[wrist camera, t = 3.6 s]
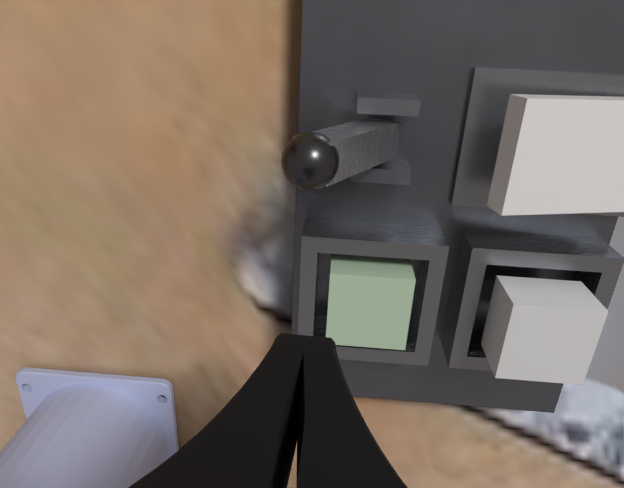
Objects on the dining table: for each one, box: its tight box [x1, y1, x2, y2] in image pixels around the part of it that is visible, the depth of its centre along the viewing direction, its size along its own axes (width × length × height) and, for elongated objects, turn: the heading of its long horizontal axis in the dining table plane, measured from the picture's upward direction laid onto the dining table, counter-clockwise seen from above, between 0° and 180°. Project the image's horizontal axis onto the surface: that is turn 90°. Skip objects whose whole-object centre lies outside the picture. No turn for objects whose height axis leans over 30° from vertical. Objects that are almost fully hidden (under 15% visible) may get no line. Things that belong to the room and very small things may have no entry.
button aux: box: [481, 275, 608, 385], centre depth 17 cm, size 3×3×2 cm
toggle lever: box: [281, 117, 401, 190], centre depth 15 cm, size 2×2×5 cm
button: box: [326, 254, 416, 350], centre depth 18 cm, size 3×3×2 cm
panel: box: [292, 0, 624, 413], centre depth 18 cm, size 18×12×3 cm
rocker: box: [487, 94, 624, 216], centre depth 15 cm, size 4×5×1 cm
